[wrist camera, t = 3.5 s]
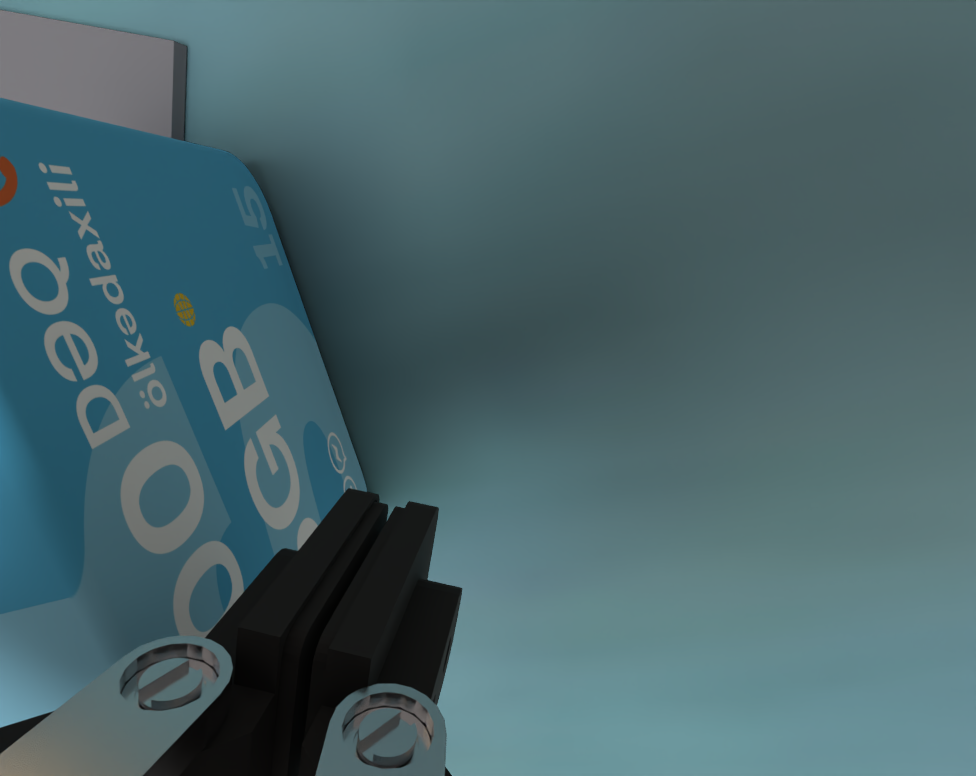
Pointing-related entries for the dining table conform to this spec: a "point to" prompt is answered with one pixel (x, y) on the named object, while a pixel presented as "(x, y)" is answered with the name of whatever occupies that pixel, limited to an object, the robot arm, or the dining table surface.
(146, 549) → the data package
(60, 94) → the rubber mat
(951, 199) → the dining table surface
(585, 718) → the dining table surface
